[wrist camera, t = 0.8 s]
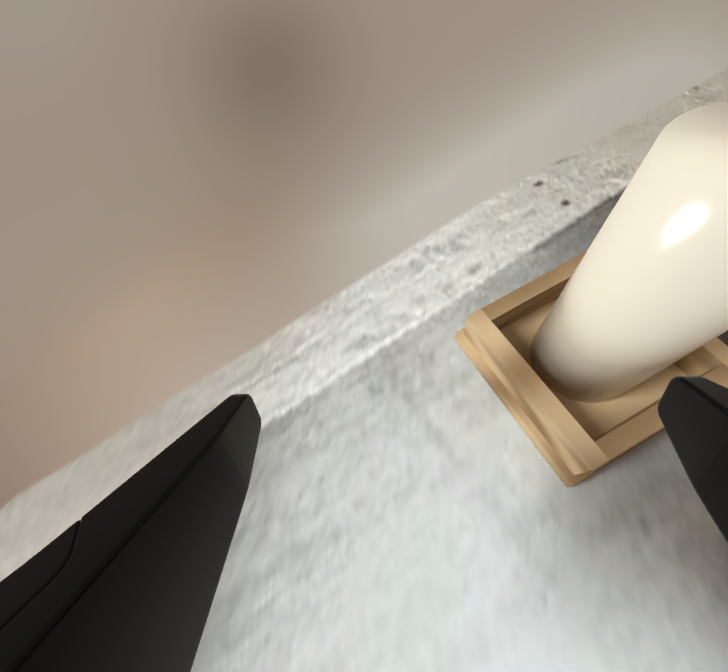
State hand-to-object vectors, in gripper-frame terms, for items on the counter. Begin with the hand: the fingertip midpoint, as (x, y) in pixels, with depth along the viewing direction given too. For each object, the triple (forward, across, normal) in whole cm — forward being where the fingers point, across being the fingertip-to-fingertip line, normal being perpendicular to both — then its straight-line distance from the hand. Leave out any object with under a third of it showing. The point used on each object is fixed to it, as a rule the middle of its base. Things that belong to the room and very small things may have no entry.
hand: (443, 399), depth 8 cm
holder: (+13, -10, +11) cm, 20 cm away
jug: (+14, -10, +9) cm, 19 cm away
